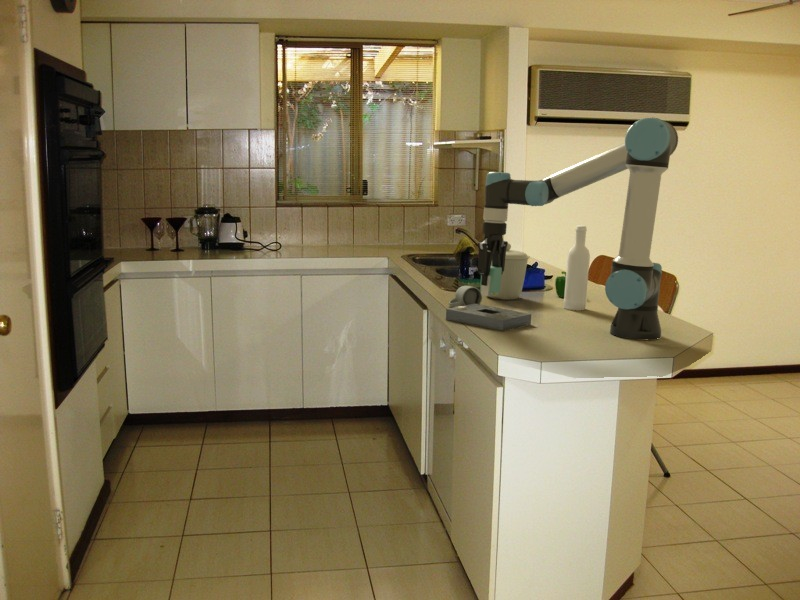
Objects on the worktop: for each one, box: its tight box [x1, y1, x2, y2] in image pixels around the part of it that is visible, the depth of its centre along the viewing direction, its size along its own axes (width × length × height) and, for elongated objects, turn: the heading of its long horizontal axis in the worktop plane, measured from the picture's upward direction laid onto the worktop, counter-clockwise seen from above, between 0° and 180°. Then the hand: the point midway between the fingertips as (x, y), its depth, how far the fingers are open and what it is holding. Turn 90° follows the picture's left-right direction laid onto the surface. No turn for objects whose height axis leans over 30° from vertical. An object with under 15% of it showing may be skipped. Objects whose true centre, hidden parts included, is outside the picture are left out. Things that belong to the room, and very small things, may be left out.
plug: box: [479, 266, 502, 296], centre depth 251 cm, size 5×4×9 cm
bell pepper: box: [554, 270, 566, 299], centre depth 308 cm, size 8×8×10 cm
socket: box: [445, 303, 532, 332], centre depth 253 cm, size 22×16×4 cm
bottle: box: [562, 224, 591, 312], centre depth 282 cm, size 8×8×30 cm
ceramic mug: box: [448, 285, 483, 308], centre depth 277 cm, size 11×8×8 cm
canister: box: [488, 242, 530, 301], centre depth 299 cm, size 18×18×21 cm
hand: (489, 294), depth 251 cm, fingers closed on plug, 4 cm apart
